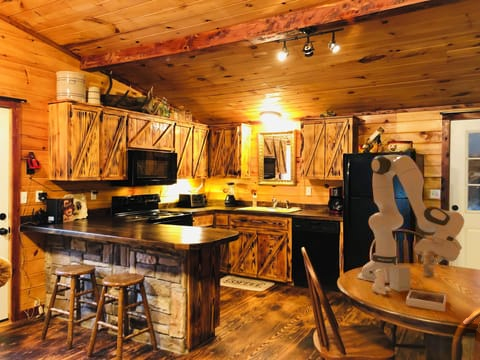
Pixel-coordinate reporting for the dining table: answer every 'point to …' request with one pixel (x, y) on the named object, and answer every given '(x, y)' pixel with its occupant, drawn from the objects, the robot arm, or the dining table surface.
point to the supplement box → (400, 278)
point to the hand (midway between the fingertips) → (427, 263)
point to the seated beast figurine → (379, 283)
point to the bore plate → (427, 297)
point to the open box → (426, 303)
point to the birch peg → (428, 264)
